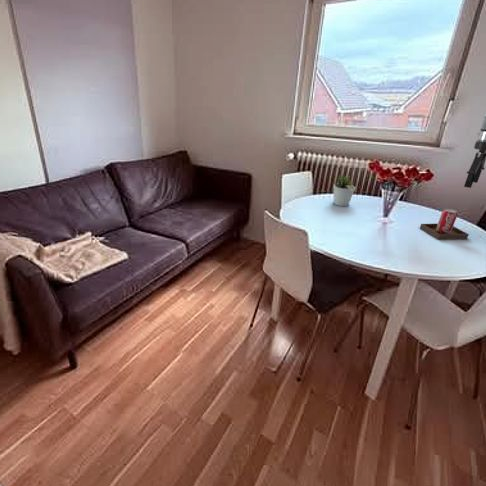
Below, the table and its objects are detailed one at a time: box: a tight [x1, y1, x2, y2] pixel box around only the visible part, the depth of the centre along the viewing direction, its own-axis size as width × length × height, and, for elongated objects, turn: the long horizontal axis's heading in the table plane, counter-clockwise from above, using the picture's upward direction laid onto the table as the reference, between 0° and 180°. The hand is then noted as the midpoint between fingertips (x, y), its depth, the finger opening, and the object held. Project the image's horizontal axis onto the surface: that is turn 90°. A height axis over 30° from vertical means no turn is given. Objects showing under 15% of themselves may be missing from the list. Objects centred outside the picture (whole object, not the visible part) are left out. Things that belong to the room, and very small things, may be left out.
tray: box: [419, 223, 470, 241], centre depth 158 cm, size 13×15×3 cm
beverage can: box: [436, 208, 458, 234], centre depth 156 cm, size 6×6×12 cm
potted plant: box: [331, 174, 356, 207], centre depth 192 cm, size 13×14×20 cm
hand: (470, 184), depth 154 cm, fingers open, 13 cm apart
